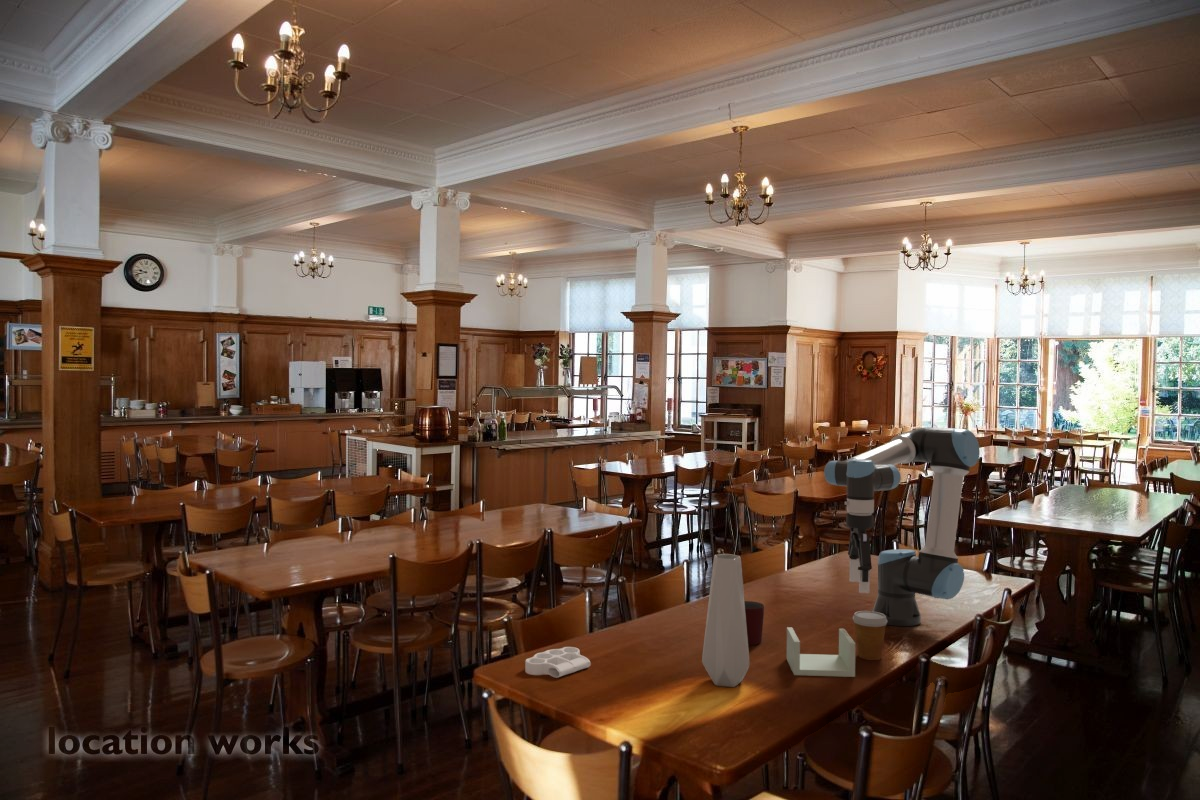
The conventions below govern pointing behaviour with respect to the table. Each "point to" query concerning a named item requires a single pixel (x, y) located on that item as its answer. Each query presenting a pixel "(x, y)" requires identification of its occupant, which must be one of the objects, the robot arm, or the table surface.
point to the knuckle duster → (556, 662)
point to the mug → (754, 621)
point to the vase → (726, 624)
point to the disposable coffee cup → (869, 633)
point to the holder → (822, 658)
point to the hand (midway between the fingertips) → (859, 587)
